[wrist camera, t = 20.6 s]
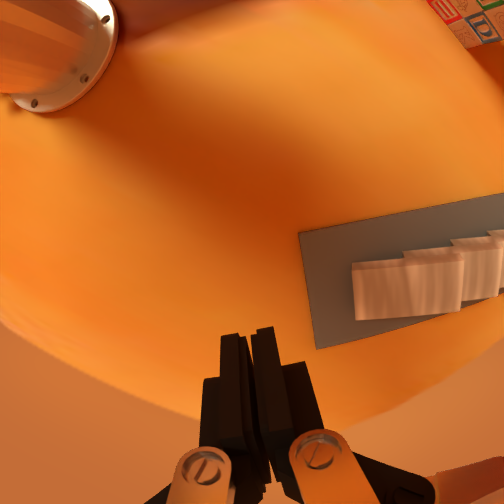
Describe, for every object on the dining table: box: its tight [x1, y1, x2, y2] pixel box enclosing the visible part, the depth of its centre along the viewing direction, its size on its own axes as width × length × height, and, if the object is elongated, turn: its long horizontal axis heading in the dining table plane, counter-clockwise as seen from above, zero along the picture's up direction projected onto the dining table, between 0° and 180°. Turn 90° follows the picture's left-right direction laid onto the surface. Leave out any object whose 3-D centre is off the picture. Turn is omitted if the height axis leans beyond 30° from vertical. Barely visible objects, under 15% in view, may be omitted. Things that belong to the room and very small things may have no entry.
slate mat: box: [298, 193, 504, 349], centre depth 28 cm, size 28×12×1 cm, turn 102°
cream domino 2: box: [402, 242, 503, 301], centre depth 26 cm, size 2×5×10 cm
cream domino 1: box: [352, 253, 464, 320], centre depth 26 cm, size 2×5×10 cm
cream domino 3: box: [450, 235, 504, 288], centre depth 25 cm, size 2×5×10 cm
